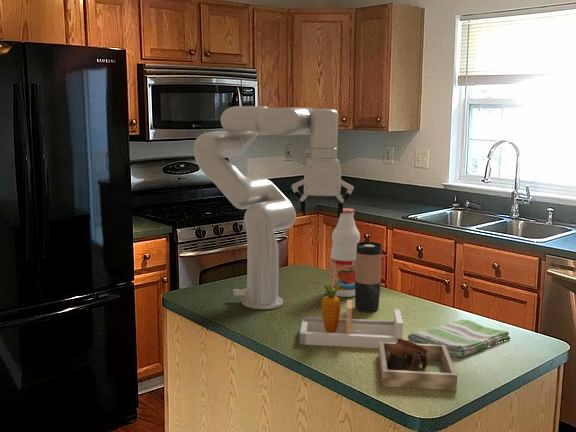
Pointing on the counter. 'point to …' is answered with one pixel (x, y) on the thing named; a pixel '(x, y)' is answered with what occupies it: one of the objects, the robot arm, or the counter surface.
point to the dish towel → (460, 337)
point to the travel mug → (368, 276)
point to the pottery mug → (413, 356)
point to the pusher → (348, 321)
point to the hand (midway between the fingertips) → (321, 215)
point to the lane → (369, 338)
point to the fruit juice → (344, 254)
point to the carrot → (330, 309)
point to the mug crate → (417, 377)
